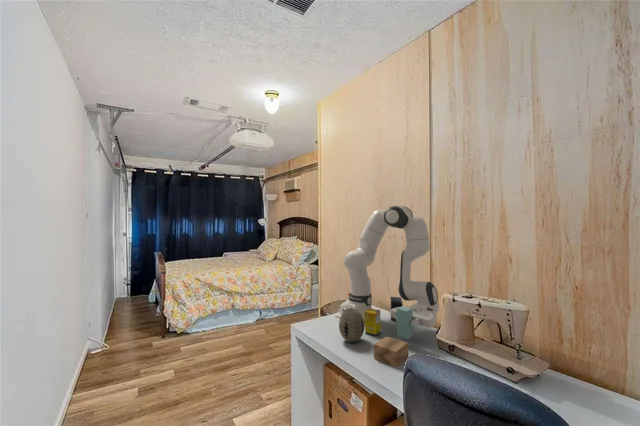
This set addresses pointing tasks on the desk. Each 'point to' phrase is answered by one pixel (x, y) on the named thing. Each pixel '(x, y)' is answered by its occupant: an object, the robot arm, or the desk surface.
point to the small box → (395, 304)
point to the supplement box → (372, 322)
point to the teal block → (404, 322)
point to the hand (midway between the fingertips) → (403, 321)
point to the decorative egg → (351, 325)
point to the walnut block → (391, 351)
